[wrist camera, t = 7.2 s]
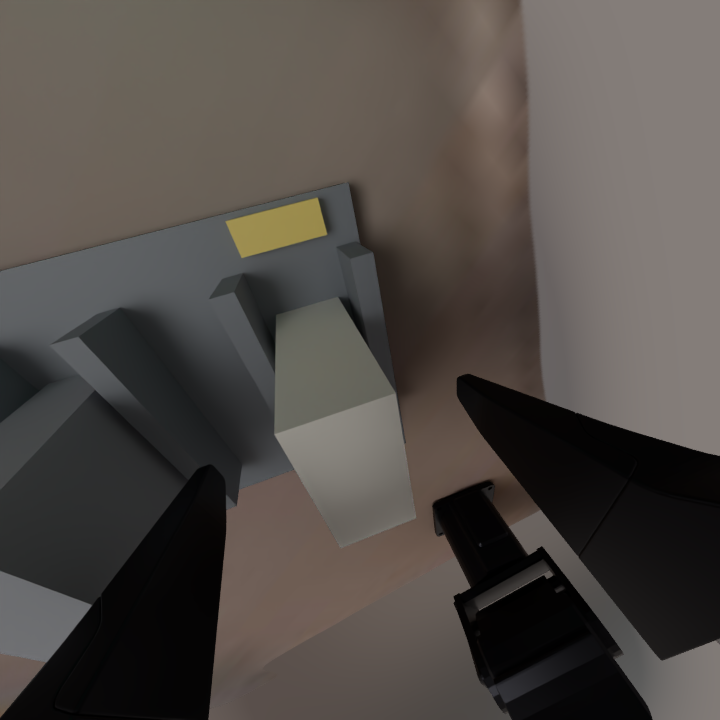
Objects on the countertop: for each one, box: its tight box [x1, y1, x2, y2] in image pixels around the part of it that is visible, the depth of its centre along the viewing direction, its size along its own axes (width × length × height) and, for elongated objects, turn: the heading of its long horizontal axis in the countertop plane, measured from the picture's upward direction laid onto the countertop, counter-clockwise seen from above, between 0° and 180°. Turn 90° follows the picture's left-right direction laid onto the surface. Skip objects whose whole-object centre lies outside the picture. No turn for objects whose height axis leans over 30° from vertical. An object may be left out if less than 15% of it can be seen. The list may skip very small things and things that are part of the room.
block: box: [274, 297, 416, 548], centre depth 10 cm, size 6×3×7 cm, turn 12°
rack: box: [0, 183, 406, 662], centre depth 10 cm, size 14×15×8 cm
